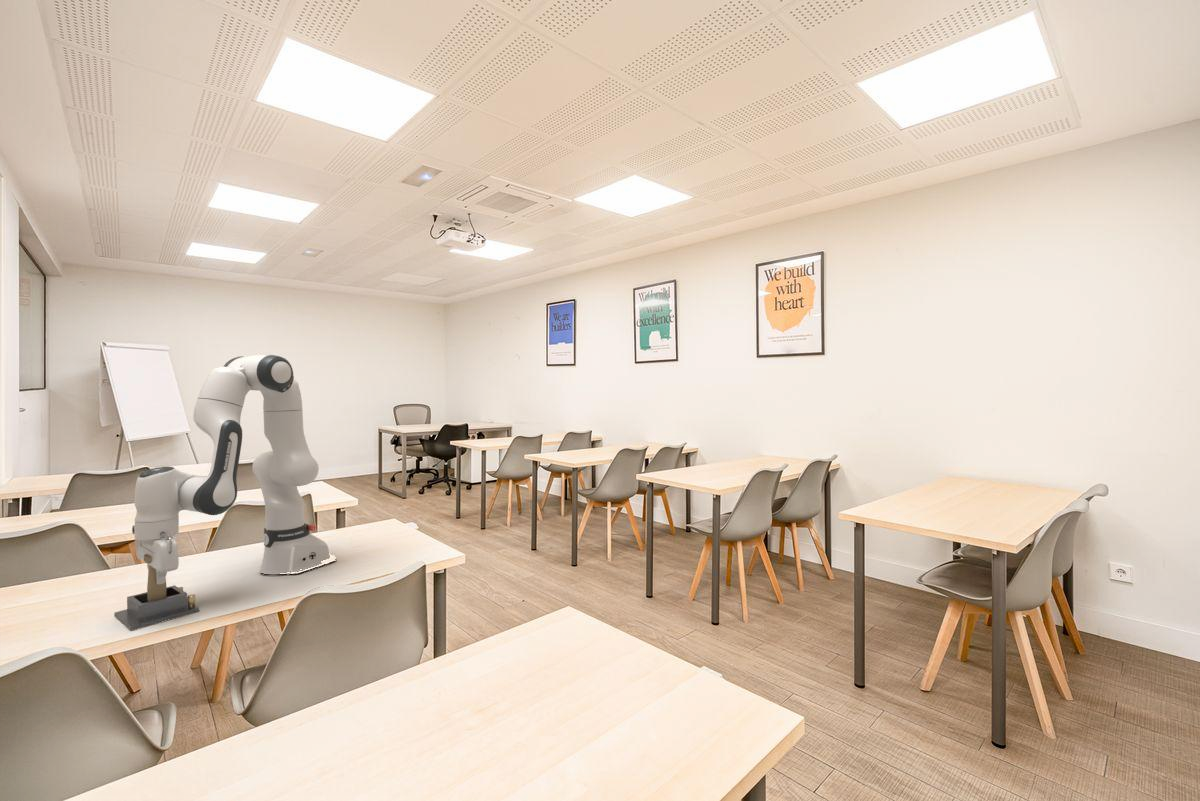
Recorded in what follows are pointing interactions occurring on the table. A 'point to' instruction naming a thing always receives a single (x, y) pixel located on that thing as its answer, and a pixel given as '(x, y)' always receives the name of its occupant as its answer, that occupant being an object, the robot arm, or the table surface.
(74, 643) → the table surface
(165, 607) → the clip socket
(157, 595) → the handle
